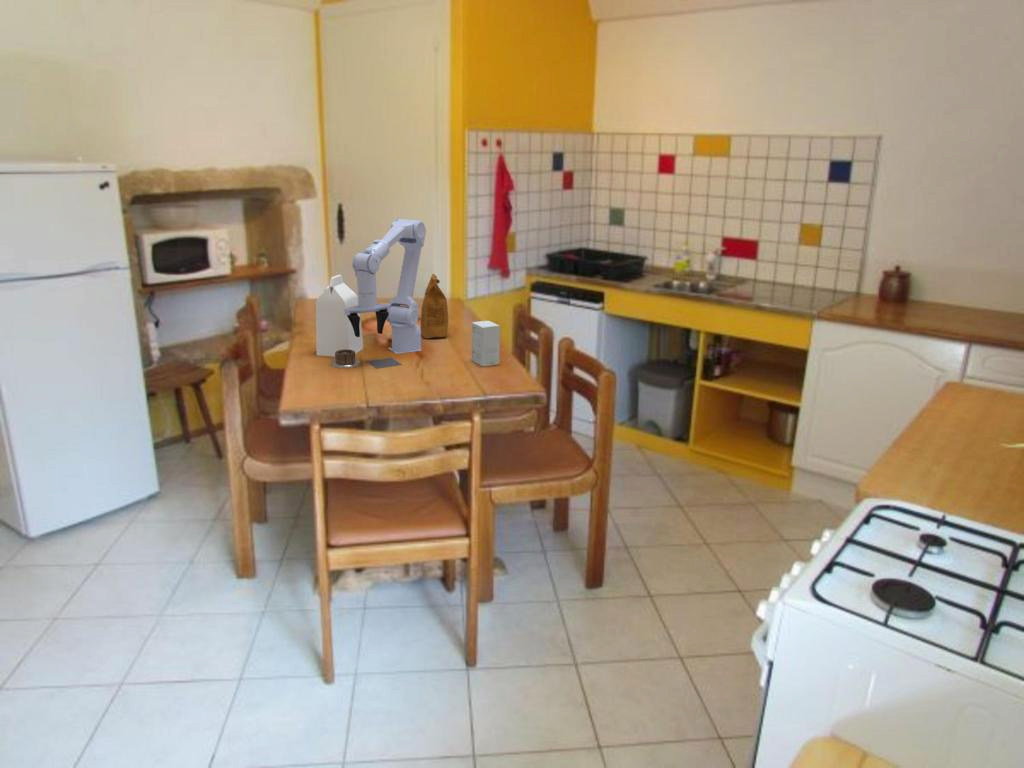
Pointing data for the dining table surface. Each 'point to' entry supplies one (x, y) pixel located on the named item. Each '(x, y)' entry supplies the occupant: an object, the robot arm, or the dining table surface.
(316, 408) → the dining table surface
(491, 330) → the small box
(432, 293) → the coffee package
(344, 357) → the ring
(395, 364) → the mat
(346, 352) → the hub
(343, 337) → the milk
